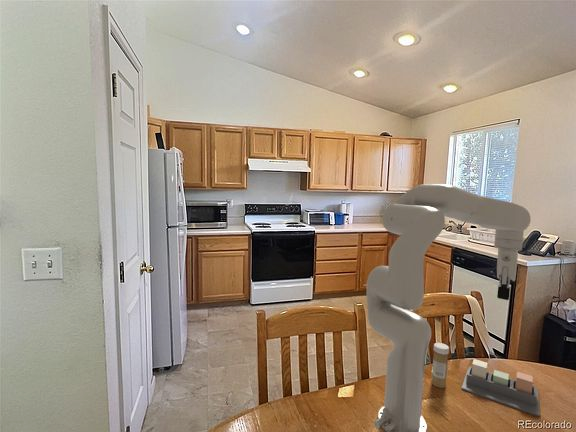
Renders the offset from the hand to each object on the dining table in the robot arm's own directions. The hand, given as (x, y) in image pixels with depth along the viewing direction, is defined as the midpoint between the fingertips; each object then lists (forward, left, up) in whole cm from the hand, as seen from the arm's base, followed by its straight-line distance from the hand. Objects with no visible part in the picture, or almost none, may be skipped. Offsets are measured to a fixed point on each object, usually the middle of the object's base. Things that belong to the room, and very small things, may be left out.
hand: (503, 298), depth 106 cm
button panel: (-5, -3, -29) cm, 30 cm away
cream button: (-6, +3, -26) cm, 27 cm away
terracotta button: (-3, -9, -26) cm, 28 cm away
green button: (-5, -3, -28) cm, 29 cm away
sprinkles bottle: (-18, +10, -29) cm, 36 cm away
